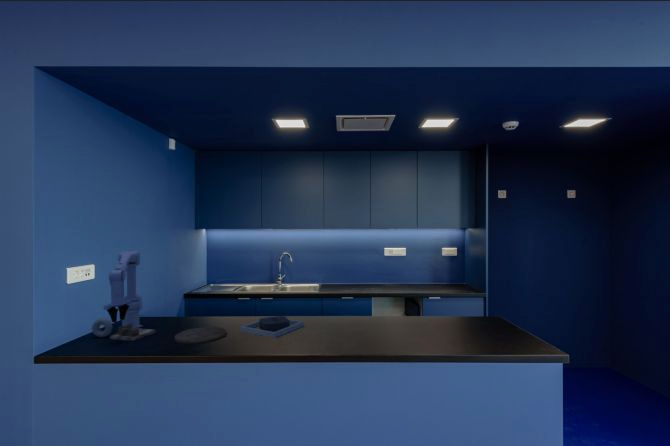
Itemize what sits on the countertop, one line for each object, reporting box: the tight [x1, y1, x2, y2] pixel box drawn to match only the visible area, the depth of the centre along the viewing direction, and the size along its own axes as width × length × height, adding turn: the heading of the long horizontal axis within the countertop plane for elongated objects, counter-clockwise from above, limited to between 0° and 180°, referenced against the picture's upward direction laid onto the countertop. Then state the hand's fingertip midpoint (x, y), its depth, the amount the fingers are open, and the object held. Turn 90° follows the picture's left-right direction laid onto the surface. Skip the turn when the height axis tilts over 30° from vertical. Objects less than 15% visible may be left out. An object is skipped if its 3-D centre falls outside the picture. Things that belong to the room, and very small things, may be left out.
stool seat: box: [109, 324, 157, 342], centre depth 198 cm, size 15×15×4 cm
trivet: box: [174, 326, 227, 345], centre depth 194 cm, size 25×25×2 cm
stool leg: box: [117, 325, 140, 336], centre depth 194 cm, size 12×3×4 cm, turn 72°
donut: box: [91, 317, 113, 338], centre depth 197 cm, size 10×4×10 cm, turn 93°
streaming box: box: [258, 315, 290, 332], centre depth 205 cm, size 14×14×5 cm
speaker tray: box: [240, 319, 305, 339], centre depth 205 cm, size 24×24×2 cm
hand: (118, 321), depth 188 cm, fingers open, 4 cm apart
